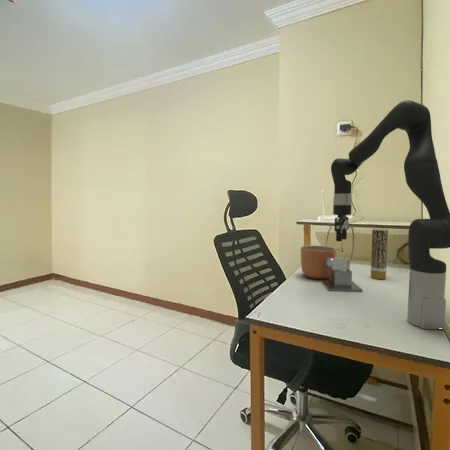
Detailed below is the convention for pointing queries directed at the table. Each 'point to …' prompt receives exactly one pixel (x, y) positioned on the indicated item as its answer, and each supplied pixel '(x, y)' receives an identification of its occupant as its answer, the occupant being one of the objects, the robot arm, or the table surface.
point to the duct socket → (341, 282)
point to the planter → (316, 261)
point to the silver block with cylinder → (338, 263)
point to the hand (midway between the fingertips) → (341, 240)
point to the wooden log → (379, 253)
